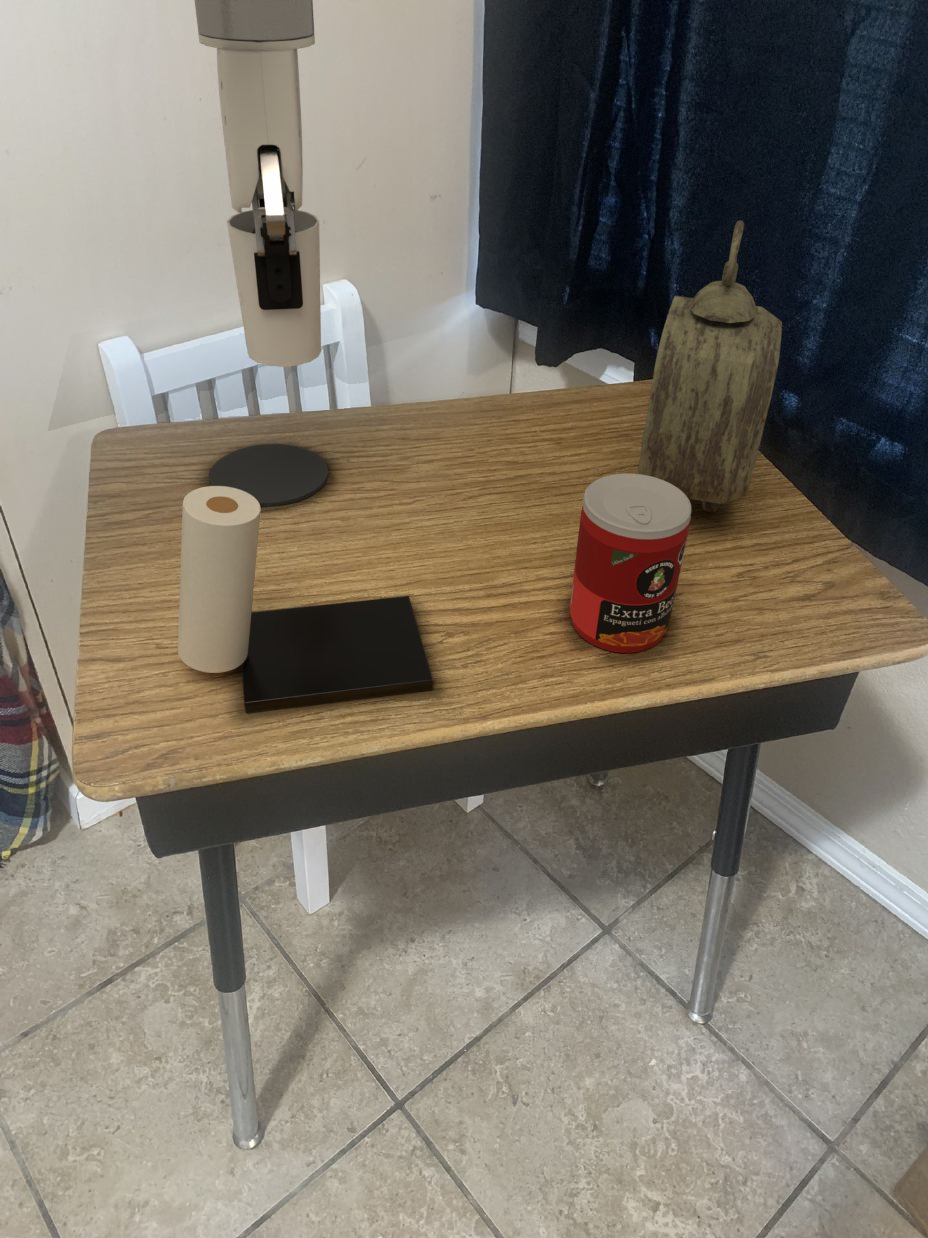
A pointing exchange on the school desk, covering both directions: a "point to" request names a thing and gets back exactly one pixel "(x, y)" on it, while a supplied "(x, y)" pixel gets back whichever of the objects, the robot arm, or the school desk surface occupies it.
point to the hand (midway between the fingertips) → (278, 289)
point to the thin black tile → (333, 654)
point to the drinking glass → (283, 330)
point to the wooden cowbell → (711, 390)
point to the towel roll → (217, 577)
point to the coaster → (271, 473)
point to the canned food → (628, 561)
